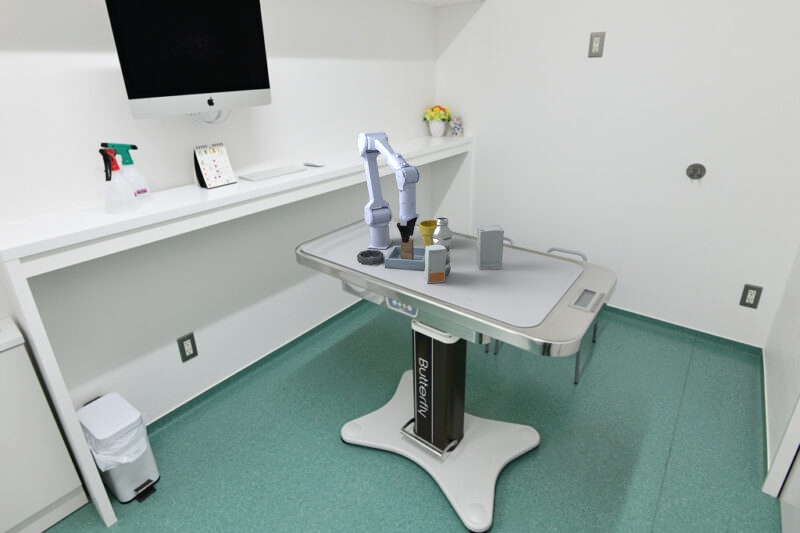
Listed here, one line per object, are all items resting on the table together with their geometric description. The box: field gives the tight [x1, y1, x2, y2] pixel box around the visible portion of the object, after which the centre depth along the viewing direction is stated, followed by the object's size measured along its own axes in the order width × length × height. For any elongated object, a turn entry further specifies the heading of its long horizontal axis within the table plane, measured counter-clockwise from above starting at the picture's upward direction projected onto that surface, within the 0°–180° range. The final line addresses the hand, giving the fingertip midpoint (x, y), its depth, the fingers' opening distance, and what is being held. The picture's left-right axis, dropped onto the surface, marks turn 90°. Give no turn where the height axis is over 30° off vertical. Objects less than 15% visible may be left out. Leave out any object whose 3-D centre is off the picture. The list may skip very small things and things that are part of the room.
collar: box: [356, 249, 385, 266], centre depth 167 cm, size 9×9×2 cm
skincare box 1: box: [424, 245, 446, 284], centre depth 148 cm, size 6×4×12 cm
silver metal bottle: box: [432, 216, 453, 278], centre depth 150 cm, size 6×7×20 cm
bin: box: [384, 245, 425, 272], centre depth 165 cm, size 14×14×4 cm
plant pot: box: [418, 219, 437, 248], centre depth 179 cm, size 10×10×10 cm
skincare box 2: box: [476, 224, 505, 271], centre depth 158 cm, size 8×6×15 cm
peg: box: [399, 238, 415, 260], centre depth 164 cm, size 4×4×8 cm
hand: (407, 238), depth 162 cm, fingers open, 7 cm apart
